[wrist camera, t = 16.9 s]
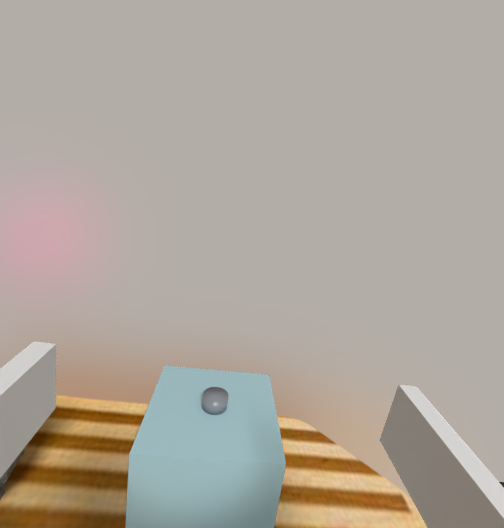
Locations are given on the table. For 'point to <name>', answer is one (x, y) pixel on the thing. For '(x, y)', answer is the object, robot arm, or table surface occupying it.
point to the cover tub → (206, 453)
